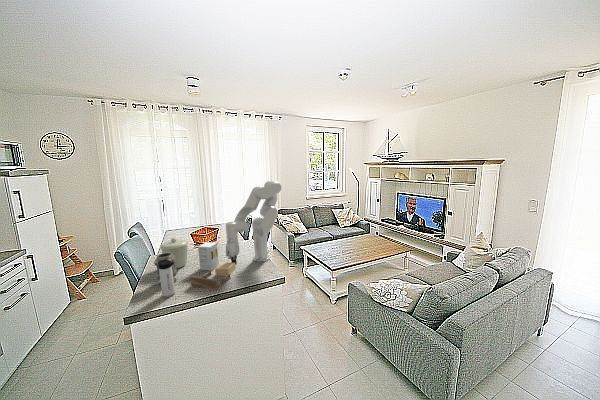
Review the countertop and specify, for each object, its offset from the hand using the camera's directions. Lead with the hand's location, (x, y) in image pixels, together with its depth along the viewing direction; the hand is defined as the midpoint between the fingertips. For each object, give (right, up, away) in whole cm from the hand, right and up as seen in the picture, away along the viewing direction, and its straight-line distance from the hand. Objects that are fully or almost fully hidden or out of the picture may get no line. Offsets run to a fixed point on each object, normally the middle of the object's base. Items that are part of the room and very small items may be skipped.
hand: (234, 264), depth 169 cm
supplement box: (-17, -2, 0) cm, 17 cm away
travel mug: (-28, -8, -34) cm, 45 cm away
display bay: (-8, -5, -21) cm, 23 cm away
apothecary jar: (-36, -6, -20) cm, 41 cm away
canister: (-42, -2, +4) cm, 43 cm away
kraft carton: (-3, -3, -9) cm, 10 cm away
